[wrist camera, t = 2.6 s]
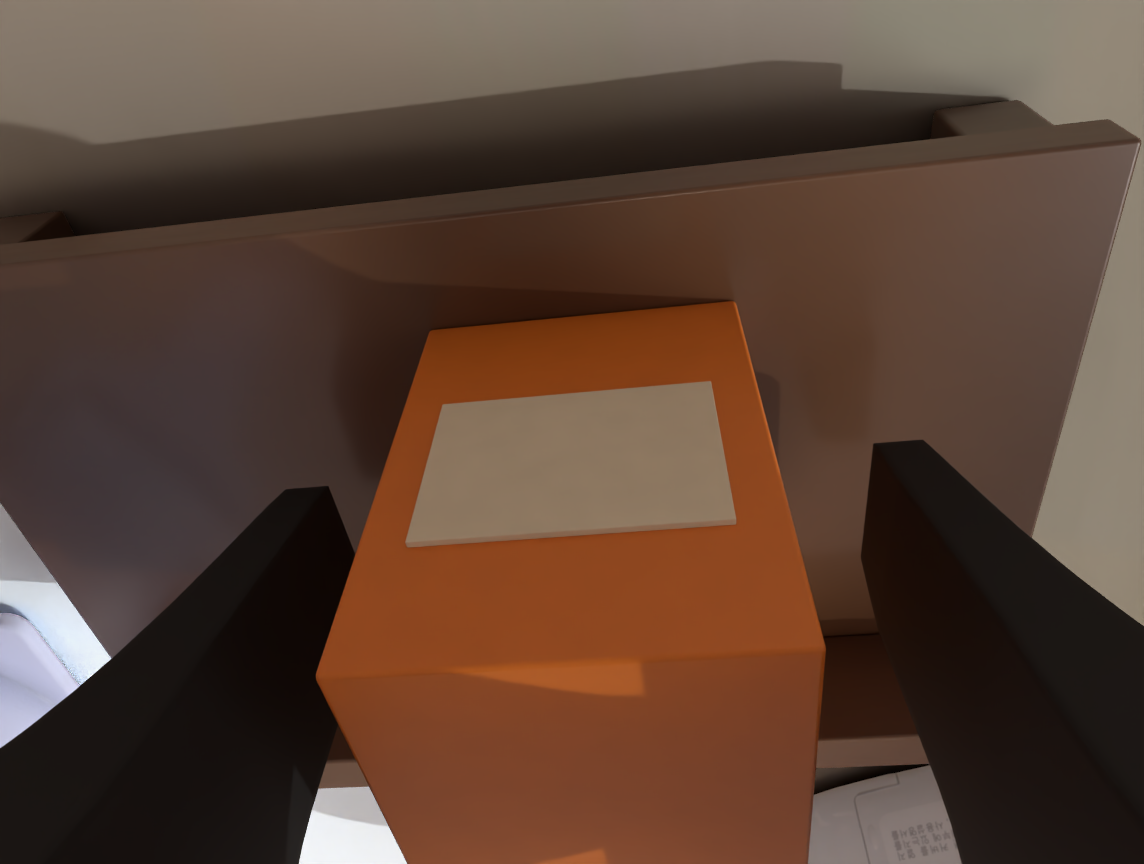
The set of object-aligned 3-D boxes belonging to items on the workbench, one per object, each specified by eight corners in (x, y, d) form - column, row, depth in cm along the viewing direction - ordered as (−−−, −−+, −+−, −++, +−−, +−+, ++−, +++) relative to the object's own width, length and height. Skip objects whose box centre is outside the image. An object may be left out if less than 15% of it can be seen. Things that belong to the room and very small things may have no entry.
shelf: (196, 592, 18) (89, 799, 15) (-30, 201, 13) (-291, 366, 9) (948, 542, 17) (1048, 760, 13) (1040, 72, 12) (1257, 208, 8)
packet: (496, 588, 14) (447, 948, 10) (427, 324, 11) (309, 672, 7) (738, 573, 14) (802, 941, 9) (735, 293, 11) (828, 642, 6)
